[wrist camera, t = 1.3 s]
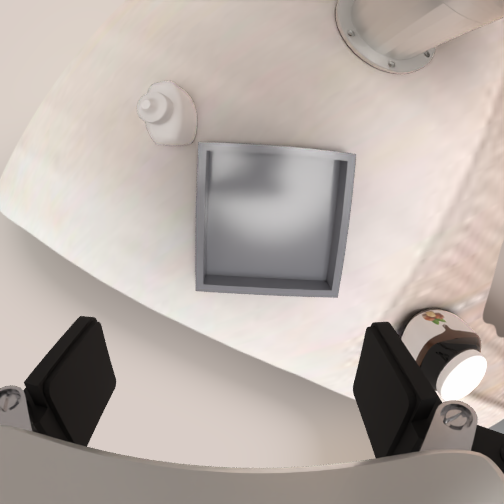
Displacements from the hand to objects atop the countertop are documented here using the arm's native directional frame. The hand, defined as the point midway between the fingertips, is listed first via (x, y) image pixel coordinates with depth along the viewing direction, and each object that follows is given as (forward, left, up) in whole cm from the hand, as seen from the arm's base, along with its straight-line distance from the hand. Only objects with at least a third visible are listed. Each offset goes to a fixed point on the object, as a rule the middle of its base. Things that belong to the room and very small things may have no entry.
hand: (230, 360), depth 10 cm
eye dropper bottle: (-10, -7, -25) cm, 28 cm away
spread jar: (+16, +25, -25) cm, 39 cm away
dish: (0, +3, -25) cm, 25 cm away
